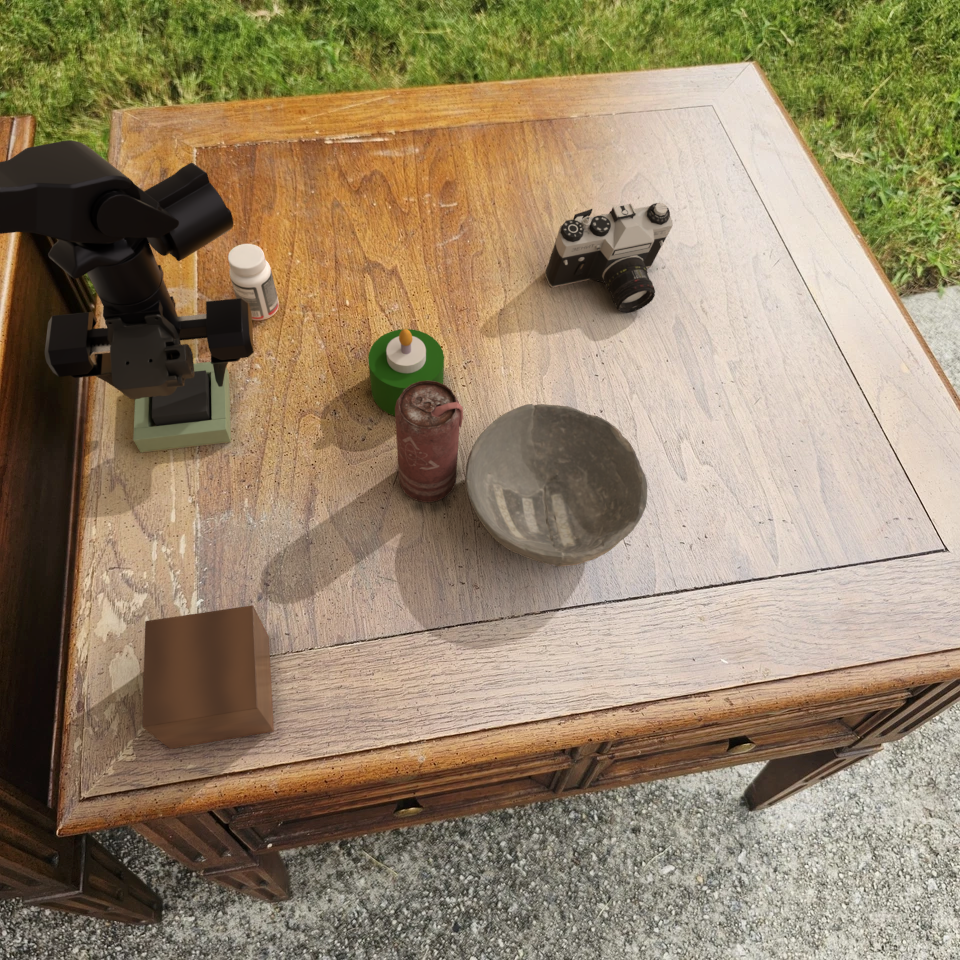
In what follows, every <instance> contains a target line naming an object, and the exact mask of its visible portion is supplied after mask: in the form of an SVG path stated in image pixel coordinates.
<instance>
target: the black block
mask: <svg viewBox="0 0 960 960" xmlns="http://www.w3.org/2000/svg"><path fill="white" fill-rule="evenodd" d="M194 374H195V375H194V377H193V378H188V379H186V380H185V381H184V386H180V387H177V388H176V390H175V392H174V393H172V394H171V395H168V396H153V397H152V419H153V421H154V423H155V426H163V425H171V424H180V423H189V422H198V421H207V420H212V414H211V383H210V380H209V377H208V375H207V372H206V370H204V371H194Z"/></svg>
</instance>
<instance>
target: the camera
mask: <svg viewBox="0 0 960 960" xmlns="http://www.w3.org/2000/svg"><path fill="white" fill-rule="evenodd" d="M592 212H593V208H590V209H588V210H585V211H581V212H579V213H575V214H574V216H573V218H572V219H567V220H565V221H564V222H563V224H562V225H561V226H560V227H559V229H558V232H557V235H556V238H555V242H554V244H553V248H552V251H551V254H550V257H549V260H548V263H547V266H546V268H545V274H544V276H545V278H546V281H547V283H548V285H549V287H551V288H557V287H562V286H567V285H572V284H576V283H581V282H586V281H591V280H592V281H596V282H600V283H604V284H605V286H606V288H607V290H608V292H610V295H611V297H612V298H611V299H612V302H613V303H614V305H615V308H616V309H617V310H618V311H620V312H621V313H625V314H627V313H632V312H635V311H638V310H641V309H643V308H645V307H647V306H648V304H650V303H651V302H652V301H653V300H654V298H655V296H656V289H655V286H654V285H653V281H652V280H651V279H650V277H649V274H648V269H649V268H652V265H653V263H654V261H655V259H656V258H657V256H658V254H659V252H660V250H661V248H662V247H663V246H664V243H665V241H666V239H667V237H668V235H669V234H670V232H671V229H672V228H673V227H674V226H673V219H672V217H671V212H670V209H669V207H668V205H667V204H666V203H664V202H655V203H652V204H651V205H650V206H642V207H636V208H634V206H633V203H632V202H630V203H628V204H624V205H623V204H622V205H618V206H615V205H612V208H611V209H610V211H609V213H605V214H601V215H600V214H599V215H594V216H591V215H592Z"/></svg>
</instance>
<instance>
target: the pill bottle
mask: <svg viewBox="0 0 960 960" xmlns="http://www.w3.org/2000/svg"><path fill="white" fill-rule="evenodd" d="M227 260H228V261H227V262H228V265H229V270H228V271H229V273H228V274H229V278H230V282H231V284H232V288H233V292H234V295H235V299H237V298H243V299H244V300H245V301H247V302H248V303H249V306H250V310H251V313H252V321H264V320H267V319H270V318H271V317H273V316H274V315H275V314H276V313H277V312H278V311H279V307H280V302H279V297H278V292H277V288H276V284H275V280H274V277H273V276H274V275H273V271H272V268H271V265H270V263H269V262H268V261H267V260H266V256H265V253H264V251H263V249H262V247H260V246H258V245H257V244H254V243H242V244H239V245H236V246H234V247H233V248H231V250H230V251H229V253H228V255H227Z"/></svg>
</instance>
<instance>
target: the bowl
mask: <svg viewBox="0 0 960 960" xmlns="http://www.w3.org/2000/svg"><path fill="white" fill-rule="evenodd" d="M464 476H465V478H464V479H465V480H464V481H465V487H466V491H467V496H468V499H469V501H470V504H471V506H472V509H473V511H474V512H475V513H474V514H475V515H476V516H477V518H478V520H479V521H480V523H481V524H482V526H483V527H484V528H485V530H486V531H487V532H488V533H489V534H490V536H491V537H492V538H493V539H494V540H495V541H496V542H497V543H499V544H500V545H501V546H503V547H504V548H505V549H507V550H509V551H511V552H513V553H516V554H518V555H519V556H522V557H524V558H526V559H530V560H532V561H535V562H538V563H542V564H545V565H550V566H555V567H559V568H560V567H569V566H570V567H571V566H577V565H581V564H584V563H587V562H589V561H594V560H595V559H598V558H600V557H601V556H604V555H605V554H607V553H608V552H610V551H611V550H612V549H614V548H615V547H616V546H618V544H619V543H620V542H622V541H623V540H624V539H626V538H627V537H628V536H629V535H630V534H631V533H632V532H633V531H634V529H635V528H636V527H637V525H638V524H639V522H640V521H641V519H642V517H643V514H644V512H645V510H646V508H647V502H648V481H647V477H646V474H645V472H644V470H643V468H642V465H641V463H640V460H639V458H638V456H637V453H636V450H635V449H634V447H633V446H632V443H631V442H630V441H629V440H628V439H627V438H626V437H624V436H623V433H622V432H621V431H620V430H619V429H618V427H616V426H614V425H613V424H612V423H611V422H610V421H608V420H606V419H605V418H602V417H601V416H597V415H594V414H588V413H586V412H585V411H581V410H579V409H577V408H574V407H572V406H569V405H559V404H557V405H556V404H545V403H538V404H533V403H529V404H524V405H521V406H518V407H516V408H513V409H511V410H509V411H507V412H505V413H504V414H502V415H500V416H499V417H497V418H496V419H495V420H494V421H493V422H492V423H490V424H489V425H488V426H487V427H485V429H484V430H483V432H481V433H480V435H479V436H478V437H477V439H476V440H475V442H474V444H473V445H472V447H471V449H470V452H469V455H468V458H467V462H466V466H465V475H464Z"/></svg>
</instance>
